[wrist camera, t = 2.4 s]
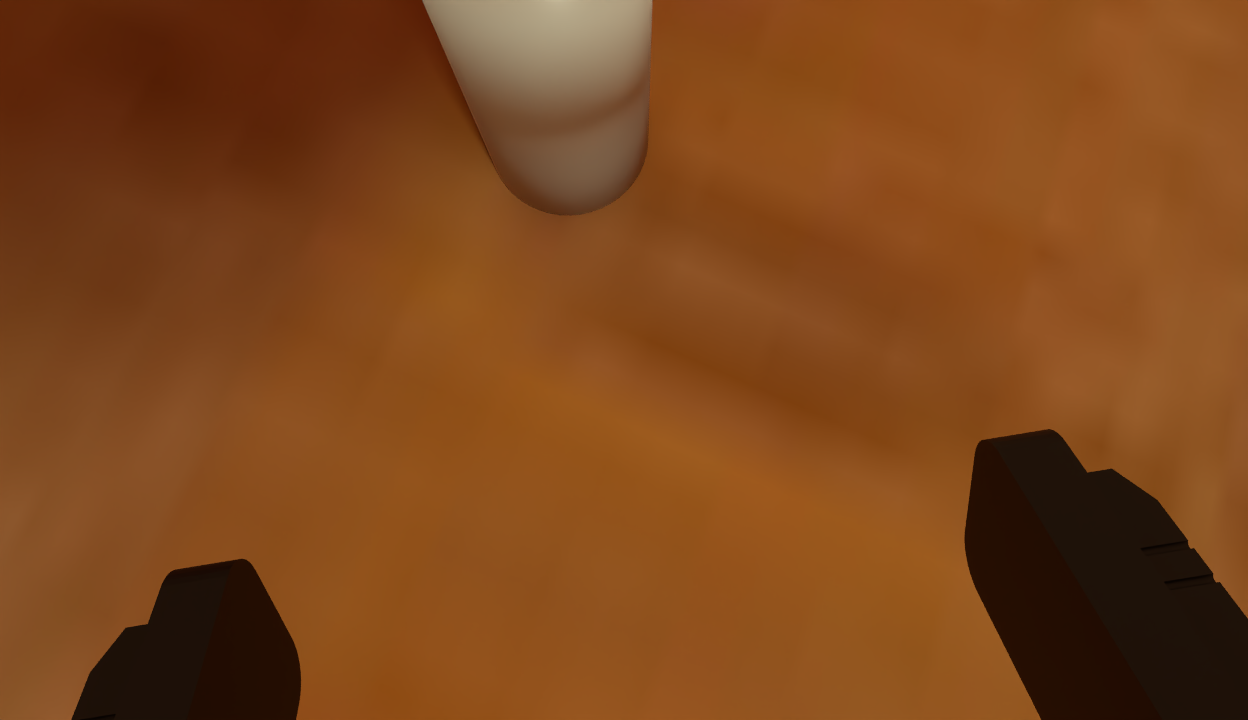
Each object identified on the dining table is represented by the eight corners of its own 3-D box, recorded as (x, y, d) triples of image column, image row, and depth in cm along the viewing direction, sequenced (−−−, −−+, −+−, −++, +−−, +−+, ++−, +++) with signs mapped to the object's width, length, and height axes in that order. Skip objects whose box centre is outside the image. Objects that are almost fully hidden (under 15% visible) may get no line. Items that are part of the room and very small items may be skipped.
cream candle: (502, 227, 27) (408, 42, 16) (479, 76, 27) (373, -203, 16) (660, 201, 27) (676, -2, 16) (634, 51, 27) (632, -243, 16)
